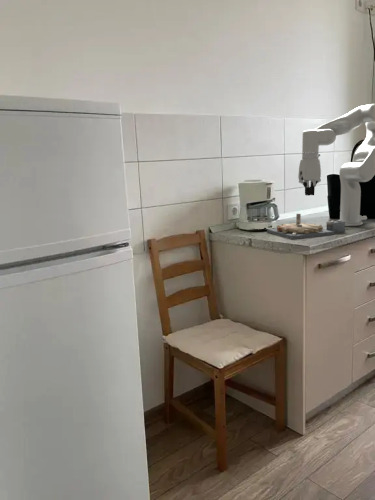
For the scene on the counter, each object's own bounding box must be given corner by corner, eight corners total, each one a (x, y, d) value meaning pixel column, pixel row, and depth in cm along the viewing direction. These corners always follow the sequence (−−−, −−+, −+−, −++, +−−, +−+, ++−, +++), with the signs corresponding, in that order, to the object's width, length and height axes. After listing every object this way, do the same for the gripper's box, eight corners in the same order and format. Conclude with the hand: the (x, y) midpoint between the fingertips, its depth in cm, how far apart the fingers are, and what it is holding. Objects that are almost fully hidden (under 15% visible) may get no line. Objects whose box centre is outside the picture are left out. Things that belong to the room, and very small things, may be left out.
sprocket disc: (305, 224, 217) (305, 211, 215) (331, 230, 198) (332, 216, 196) (269, 228, 210) (269, 215, 208) (293, 235, 191) (293, 220, 189)
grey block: (326, 232, 205) (326, 220, 204) (338, 230, 207) (338, 219, 206) (332, 233, 201) (332, 221, 199) (344, 232, 203) (345, 220, 202)
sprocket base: (305, 228, 218) (305, 223, 217) (333, 234, 198) (333, 229, 197) (267, 232, 211) (267, 227, 210) (292, 239, 190) (292, 234, 190)
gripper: (319, 156, 212) (318, 193, 216) (291, 157, 207) (291, 195, 211) (329, 155, 205) (327, 194, 209) (300, 157, 200) (300, 196, 204)
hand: (309, 194), depth 210 cm, fingers closed
